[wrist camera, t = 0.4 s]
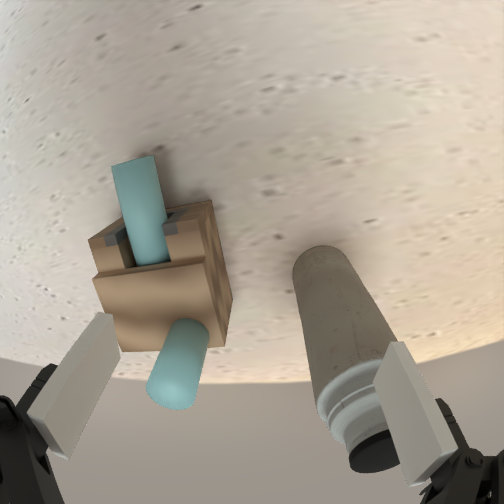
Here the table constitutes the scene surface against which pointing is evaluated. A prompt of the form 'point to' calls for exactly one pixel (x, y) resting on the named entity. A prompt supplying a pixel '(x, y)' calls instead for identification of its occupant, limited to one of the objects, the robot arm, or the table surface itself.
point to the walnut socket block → (164, 280)
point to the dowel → (179, 365)
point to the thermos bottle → (345, 355)
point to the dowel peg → (142, 209)
